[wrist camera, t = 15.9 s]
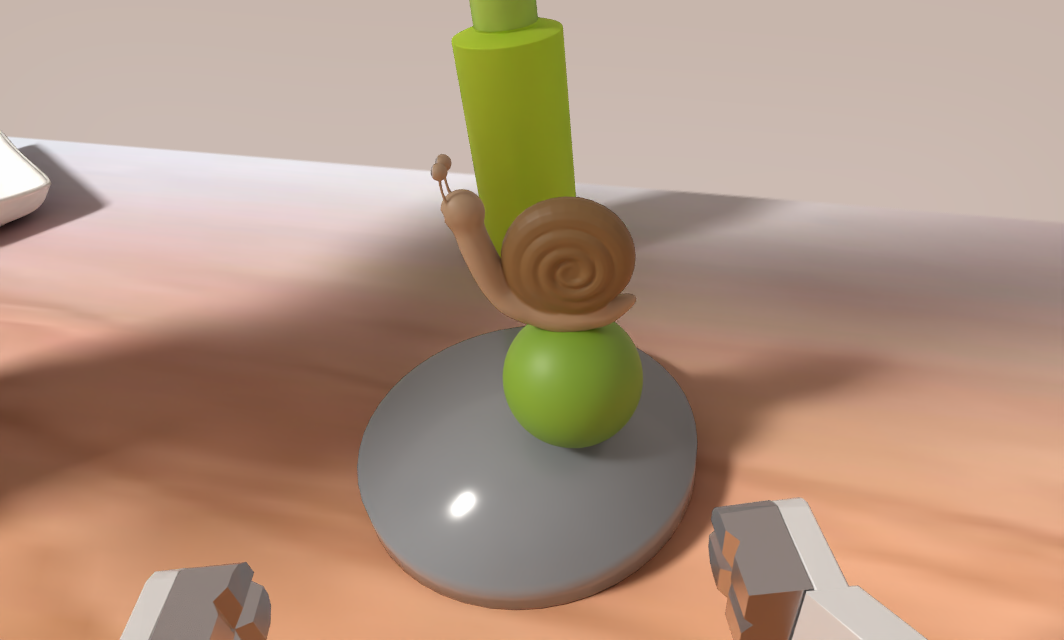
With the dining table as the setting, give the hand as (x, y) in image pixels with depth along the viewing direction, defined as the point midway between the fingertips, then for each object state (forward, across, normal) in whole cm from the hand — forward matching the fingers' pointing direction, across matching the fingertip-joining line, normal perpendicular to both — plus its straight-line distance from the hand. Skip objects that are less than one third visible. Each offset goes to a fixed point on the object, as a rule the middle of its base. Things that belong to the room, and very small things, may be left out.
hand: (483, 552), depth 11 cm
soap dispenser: (+30, -2, +12) cm, 32 cm away
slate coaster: (+12, 0, +11) cm, 16 cm away
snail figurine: (+12, -2, +10) cm, 16 cm away
